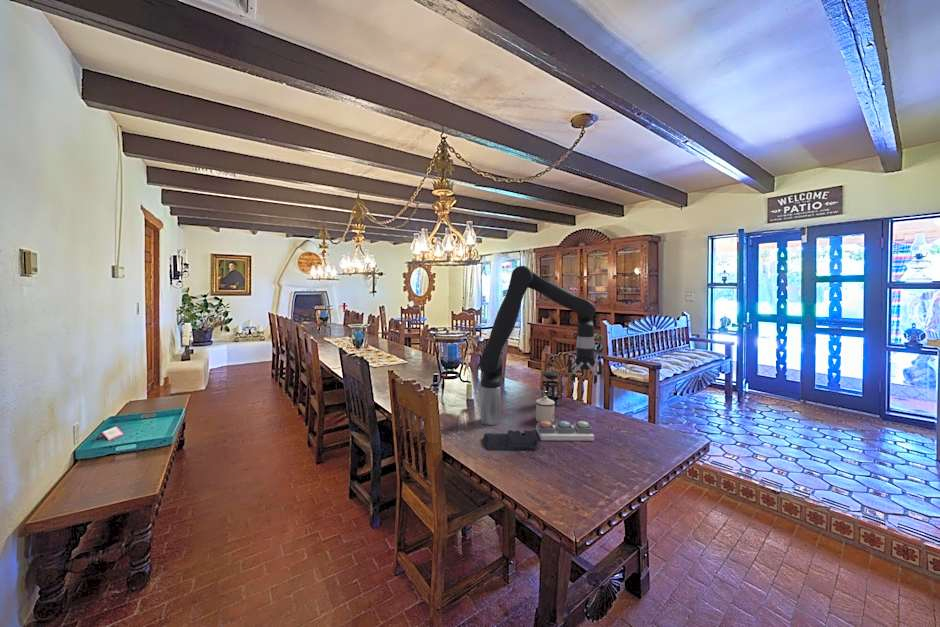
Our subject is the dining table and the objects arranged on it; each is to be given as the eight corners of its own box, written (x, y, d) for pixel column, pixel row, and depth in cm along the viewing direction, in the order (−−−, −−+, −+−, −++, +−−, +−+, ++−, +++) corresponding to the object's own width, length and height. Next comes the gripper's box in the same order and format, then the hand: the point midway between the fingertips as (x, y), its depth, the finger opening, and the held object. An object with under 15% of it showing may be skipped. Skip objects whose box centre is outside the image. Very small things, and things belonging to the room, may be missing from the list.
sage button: (579, 429, 159) (579, 424, 159) (576, 425, 164) (576, 421, 163) (589, 429, 159) (589, 424, 159) (586, 425, 164) (586, 421, 163)
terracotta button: (541, 429, 159) (541, 424, 159) (539, 425, 164) (539, 420, 164) (551, 429, 159) (551, 424, 159) (549, 425, 164) (549, 420, 164)
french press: (543, 407, 198) (543, 364, 196) (537, 402, 207) (538, 361, 206) (564, 406, 200) (565, 364, 198) (557, 401, 209) (558, 360, 207)
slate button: (560, 429, 159) (560, 424, 159) (557, 425, 164) (558, 420, 163) (570, 429, 159) (570, 424, 159) (568, 425, 164) (568, 420, 163)
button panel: (540, 440, 156) (540, 430, 155) (535, 429, 168) (535, 420, 167) (594, 440, 156) (594, 431, 155) (585, 429, 168) (586, 420, 167)
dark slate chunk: (482, 436, 160) (482, 425, 160) (533, 436, 161) (533, 425, 161) (484, 452, 145) (484, 440, 145) (541, 452, 146) (541, 440, 145)
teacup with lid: (557, 423, 175) (557, 398, 174) (538, 423, 174) (538, 399, 173) (549, 414, 187) (549, 391, 186) (531, 415, 186) (532, 392, 185)
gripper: (568, 347, 163) (567, 383, 165) (602, 348, 159) (601, 386, 160) (569, 344, 171) (568, 379, 172) (602, 346, 166) (601, 382, 168)
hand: (584, 382), depth 166 cm, fingers open, 8 cm apart
